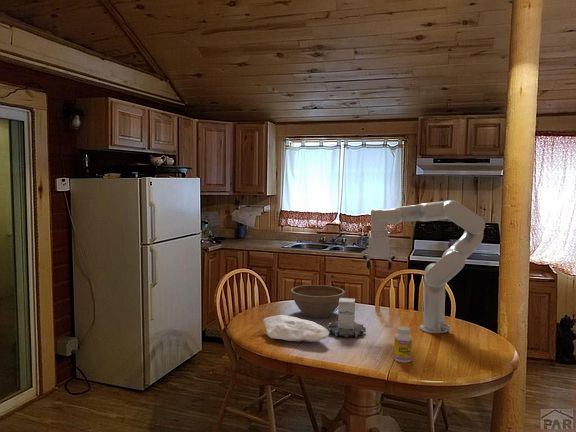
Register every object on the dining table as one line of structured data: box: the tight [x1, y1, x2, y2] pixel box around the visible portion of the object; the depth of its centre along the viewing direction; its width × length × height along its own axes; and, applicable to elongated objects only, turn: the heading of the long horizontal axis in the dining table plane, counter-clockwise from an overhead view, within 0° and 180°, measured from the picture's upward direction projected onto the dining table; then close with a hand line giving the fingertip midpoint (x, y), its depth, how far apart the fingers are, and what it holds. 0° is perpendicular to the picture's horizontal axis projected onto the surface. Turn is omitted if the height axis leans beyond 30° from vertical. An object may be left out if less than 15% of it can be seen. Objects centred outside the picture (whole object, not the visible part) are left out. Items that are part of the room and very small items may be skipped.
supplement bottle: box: [393, 325, 413, 364], centre depth 185 cm, size 7×7×13 cm
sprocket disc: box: [325, 321, 367, 338], centre depth 218 cm, size 18×18×6 cm
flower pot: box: [290, 284, 346, 319], centre depth 248 cm, size 28×28×13 cm
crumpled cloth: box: [262, 314, 330, 343], centre depth 211 cm, size 24×35×9 cm
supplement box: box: [337, 297, 356, 329], centre depth 217 cm, size 7×7×13 cm
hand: (379, 269), depth 228 cm, fingers open, 9 cm apart
